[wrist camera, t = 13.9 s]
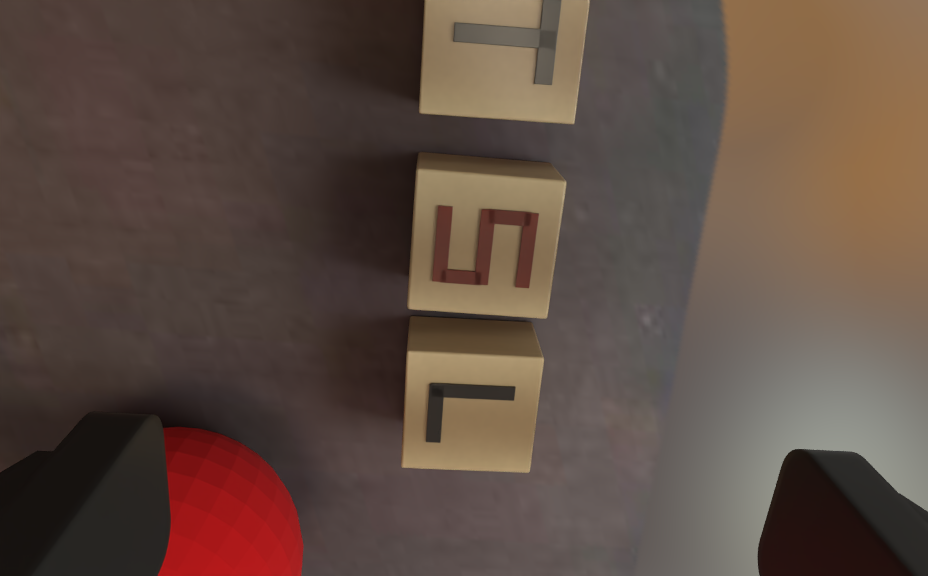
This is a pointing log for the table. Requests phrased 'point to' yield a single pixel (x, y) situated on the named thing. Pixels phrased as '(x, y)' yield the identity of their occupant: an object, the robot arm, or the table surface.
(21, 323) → the table surface
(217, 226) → the table surface
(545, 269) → the tile
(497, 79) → the letter t tile
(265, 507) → the ornament
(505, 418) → the letter l tile
